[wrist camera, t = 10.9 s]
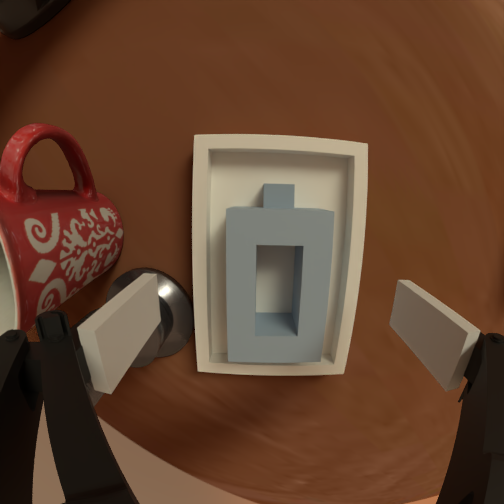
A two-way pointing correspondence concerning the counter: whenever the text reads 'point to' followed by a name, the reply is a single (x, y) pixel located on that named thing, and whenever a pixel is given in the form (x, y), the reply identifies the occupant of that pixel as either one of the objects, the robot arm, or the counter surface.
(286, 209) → the windowed blue block
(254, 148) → the tray
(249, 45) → the counter surface
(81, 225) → the mug
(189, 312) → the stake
